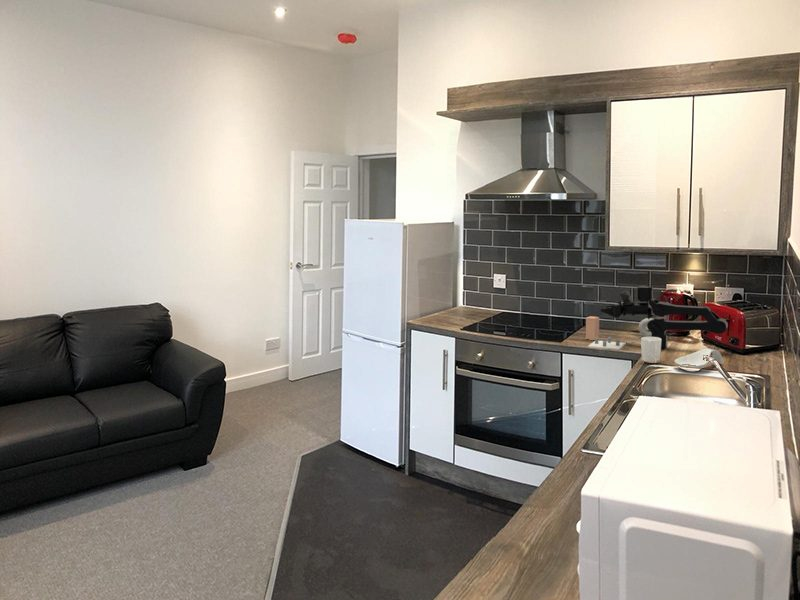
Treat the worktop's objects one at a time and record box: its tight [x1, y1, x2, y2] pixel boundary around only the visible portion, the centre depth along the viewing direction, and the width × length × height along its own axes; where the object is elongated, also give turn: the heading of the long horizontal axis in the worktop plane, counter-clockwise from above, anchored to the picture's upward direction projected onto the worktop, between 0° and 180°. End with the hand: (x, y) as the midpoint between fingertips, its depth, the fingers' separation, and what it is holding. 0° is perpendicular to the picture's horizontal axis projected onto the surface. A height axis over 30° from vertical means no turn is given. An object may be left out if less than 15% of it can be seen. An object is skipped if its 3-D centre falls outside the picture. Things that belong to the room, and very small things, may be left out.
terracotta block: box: [585, 315, 600, 341], centre depth 306 cm, size 5×5×11 cm
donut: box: [638, 317, 654, 337], centre depth 306 cm, size 10×4×10 cm, turn 64°
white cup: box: [640, 336, 662, 361], centre depth 258 cm, size 8×8×10 cm
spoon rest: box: [674, 347, 724, 369], centre depth 247 cm, size 24×12×7 cm, turn 121°
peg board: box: [587, 336, 627, 351], centre depth 291 cm, size 14×14×3 cm
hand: (603, 308), depth 295 cm, fingers open, 9 cm apart
